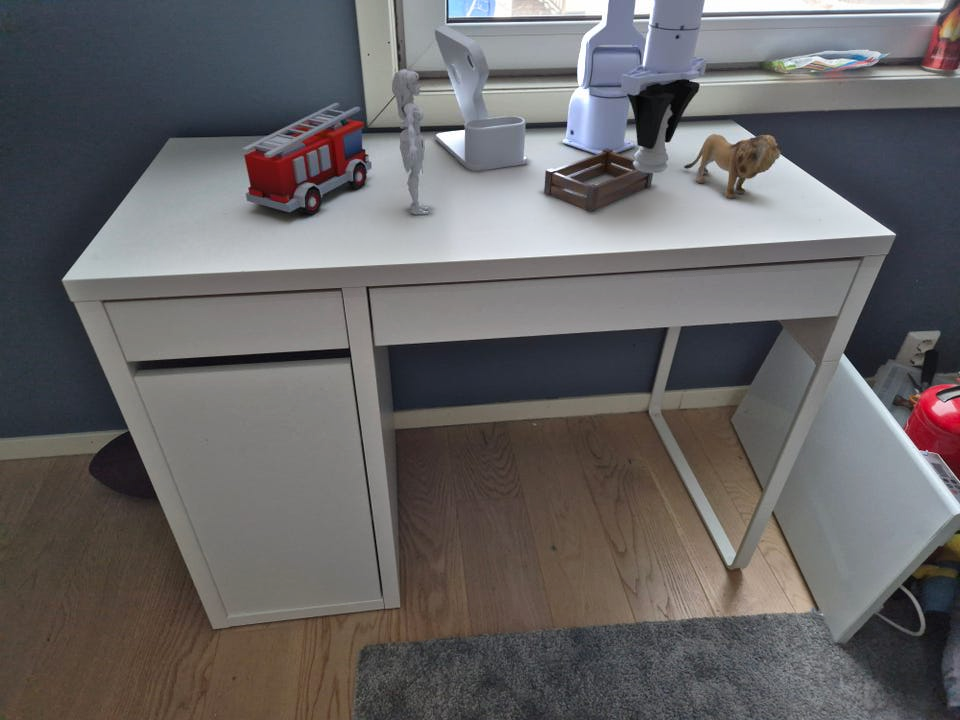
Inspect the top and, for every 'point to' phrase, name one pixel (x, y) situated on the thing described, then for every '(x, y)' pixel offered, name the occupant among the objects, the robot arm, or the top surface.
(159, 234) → the top surface
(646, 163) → the rook chess piece
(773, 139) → the lion figurine
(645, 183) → the crate
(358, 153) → the toy fire truck
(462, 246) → the top surface
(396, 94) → the human figurine
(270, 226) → the top surface
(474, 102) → the phone holder
